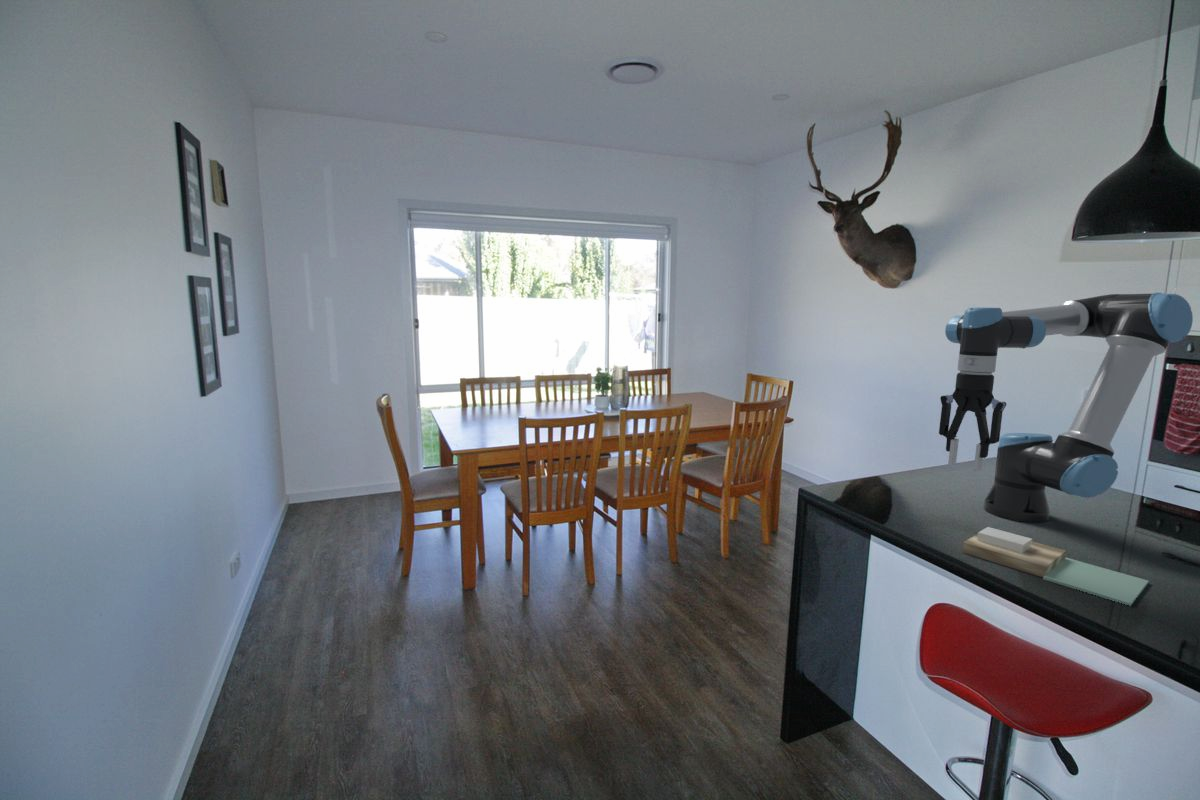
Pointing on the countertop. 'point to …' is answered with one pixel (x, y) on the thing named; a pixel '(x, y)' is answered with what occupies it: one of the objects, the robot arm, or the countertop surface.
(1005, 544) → the white rectangular block
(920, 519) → the countertop surface
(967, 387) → the robot arm
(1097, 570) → the mat
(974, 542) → the wooden board
